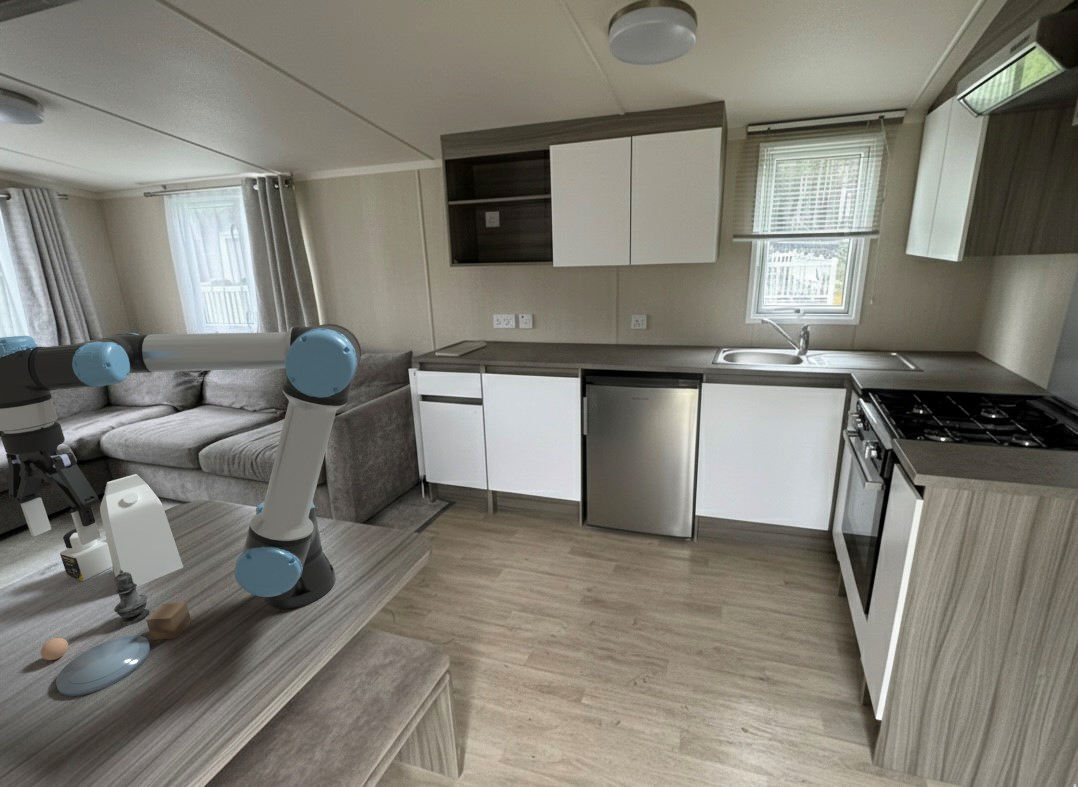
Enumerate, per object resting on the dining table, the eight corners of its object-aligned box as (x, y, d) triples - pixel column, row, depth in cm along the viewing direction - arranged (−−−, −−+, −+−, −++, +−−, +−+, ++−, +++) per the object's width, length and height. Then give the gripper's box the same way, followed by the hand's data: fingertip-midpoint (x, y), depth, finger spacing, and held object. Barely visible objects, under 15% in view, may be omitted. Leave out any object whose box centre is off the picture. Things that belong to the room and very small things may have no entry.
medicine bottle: (66, 577, 130) (53, 535, 127) (98, 561, 137) (86, 521, 134) (83, 582, 128) (69, 539, 125) (114, 566, 134) (102, 525, 131)
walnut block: (191, 622, 110) (186, 602, 109) (176, 638, 105) (170, 618, 104) (168, 623, 110) (162, 603, 109) (152, 640, 105) (146, 619, 104)
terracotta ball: (75, 651, 103) (69, 635, 102) (51, 666, 100) (45, 649, 98) (62, 648, 104) (57, 631, 103) (39, 662, 101) (33, 645, 100)
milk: (169, 553, 139) (145, 465, 132) (183, 567, 132) (158, 475, 125) (114, 575, 130) (86, 482, 123) (126, 591, 123) (96, 493, 116)
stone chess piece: (133, 627, 109) (118, 579, 106) (111, 625, 111) (96, 577, 108) (158, 609, 115) (144, 563, 112) (137, 607, 116) (123, 561, 113)
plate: (166, 647, 103) (165, 641, 102) (89, 703, 90) (87, 697, 90) (120, 635, 107) (118, 629, 107) (39, 686, 95) (37, 680, 94)
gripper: (103, 422, 87) (135, 533, 92) (11, 417, 95) (46, 519, 100) (51, 437, 80) (88, 556, 85) (-43, 430, 88) (-3, 539, 93)
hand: (65, 536), depth 93 cm, fingers open, 13 cm apart
